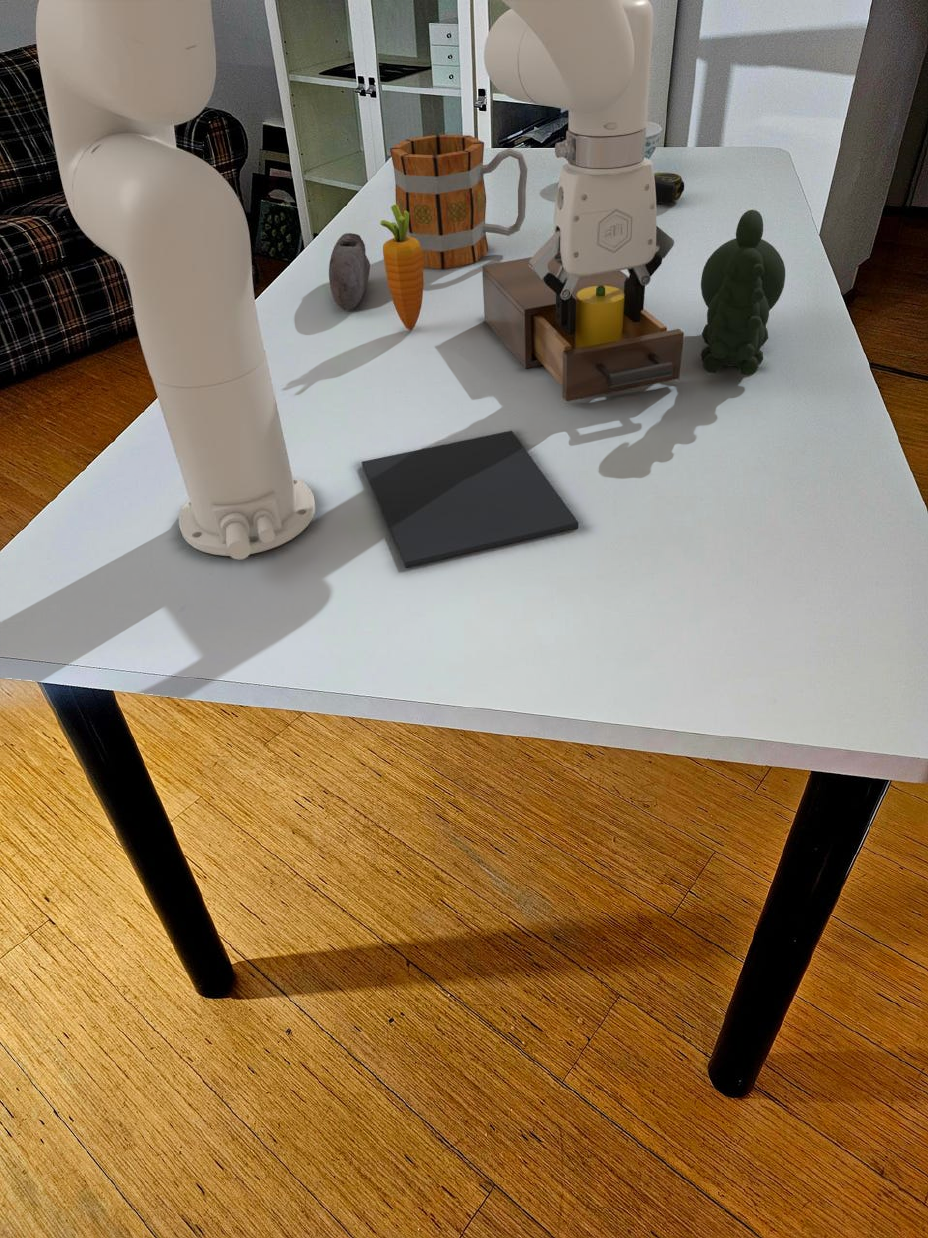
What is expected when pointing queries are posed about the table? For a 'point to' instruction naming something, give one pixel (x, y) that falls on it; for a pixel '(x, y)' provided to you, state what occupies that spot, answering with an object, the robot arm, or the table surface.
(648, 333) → the drawer
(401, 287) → the carrot
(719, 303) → the toy figurine
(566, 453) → the table surface
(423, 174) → the mug
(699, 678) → the table surface
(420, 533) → the mat
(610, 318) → the pepper
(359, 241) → the perforated stone tool
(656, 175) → the tape measure
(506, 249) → the table surface
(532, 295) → the cabinet
